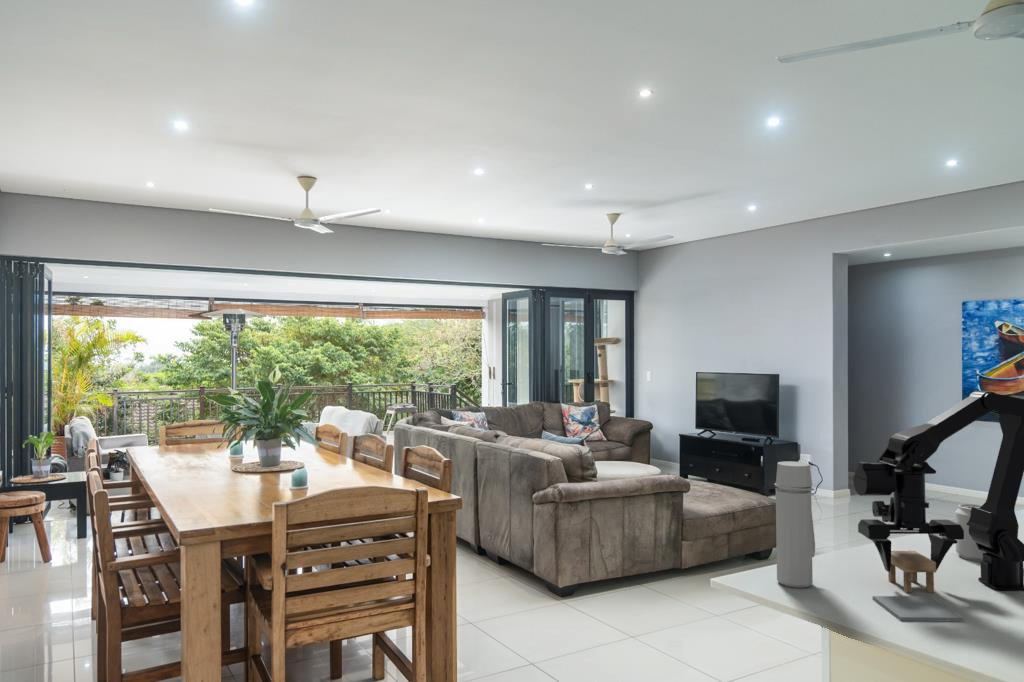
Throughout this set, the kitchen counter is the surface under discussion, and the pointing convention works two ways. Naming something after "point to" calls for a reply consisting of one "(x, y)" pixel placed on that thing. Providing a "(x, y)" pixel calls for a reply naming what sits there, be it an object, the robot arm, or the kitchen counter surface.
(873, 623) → the kitchen counter surface
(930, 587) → the stool
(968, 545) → the can
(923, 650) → the kitchen counter surface
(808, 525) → the water bottle
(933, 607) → the gray panel
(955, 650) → the kitchen counter surface
